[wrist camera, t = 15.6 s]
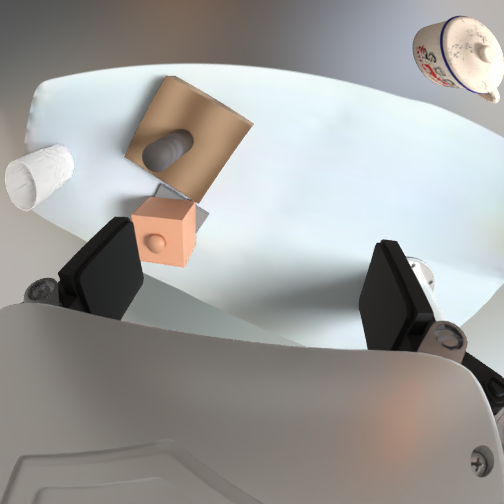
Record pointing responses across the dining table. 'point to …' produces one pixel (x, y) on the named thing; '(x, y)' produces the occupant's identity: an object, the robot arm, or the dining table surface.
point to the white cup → (38, 175)
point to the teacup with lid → (461, 56)
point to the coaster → (169, 193)
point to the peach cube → (165, 230)
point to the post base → (204, 129)
